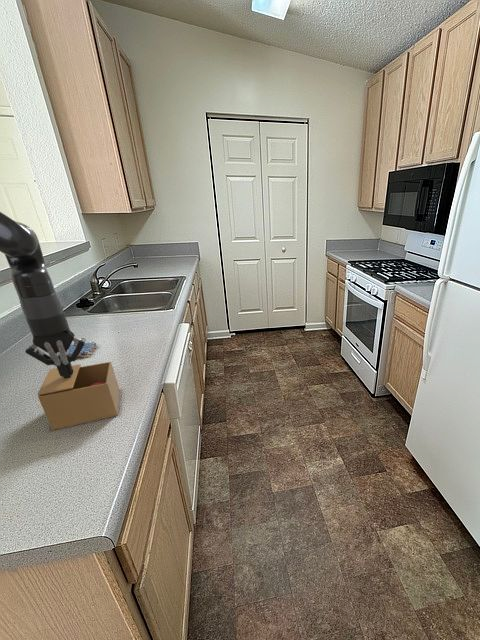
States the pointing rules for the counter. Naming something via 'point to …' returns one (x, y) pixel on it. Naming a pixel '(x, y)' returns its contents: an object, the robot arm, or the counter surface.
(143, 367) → the counter surface
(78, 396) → the carton
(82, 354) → the woven mat
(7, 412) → the counter surface
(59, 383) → the flap
